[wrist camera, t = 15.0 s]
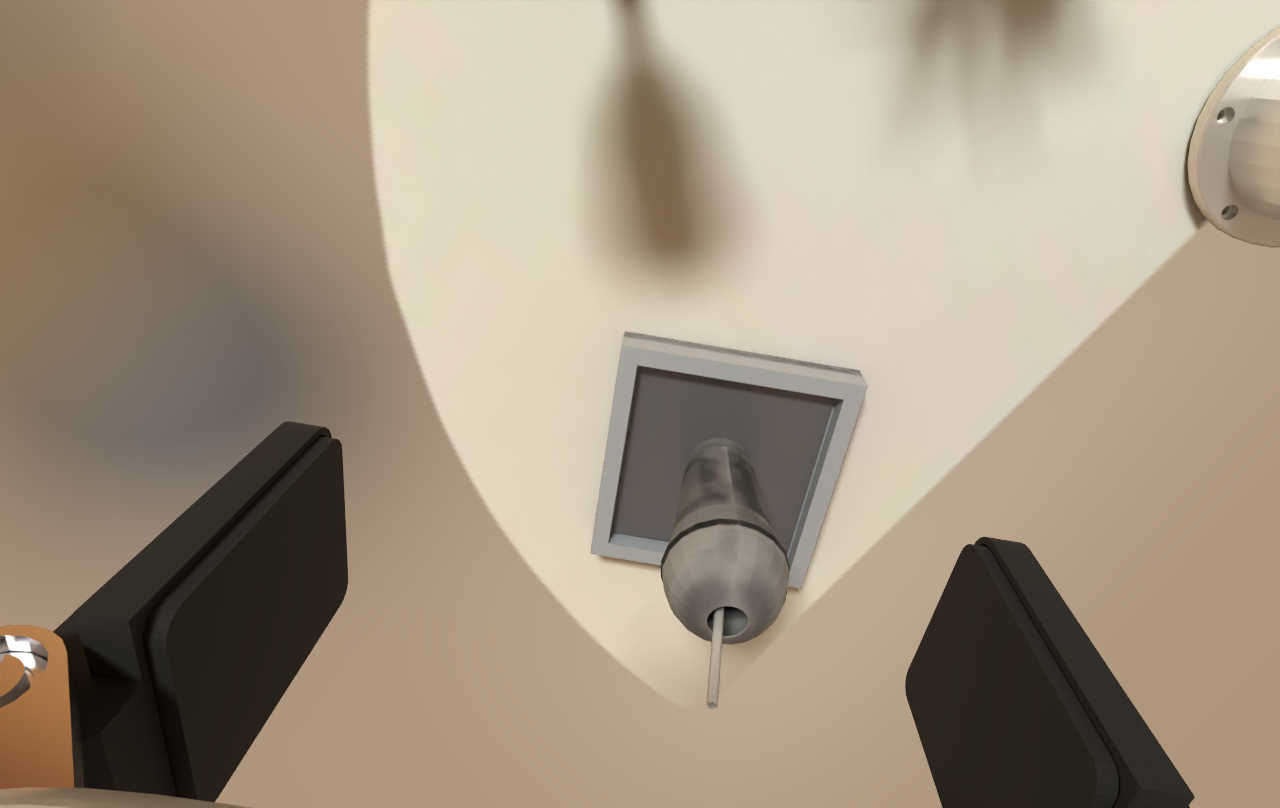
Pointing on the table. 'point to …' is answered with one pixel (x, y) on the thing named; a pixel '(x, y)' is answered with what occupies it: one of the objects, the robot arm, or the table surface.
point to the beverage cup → (723, 553)
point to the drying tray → (721, 408)
